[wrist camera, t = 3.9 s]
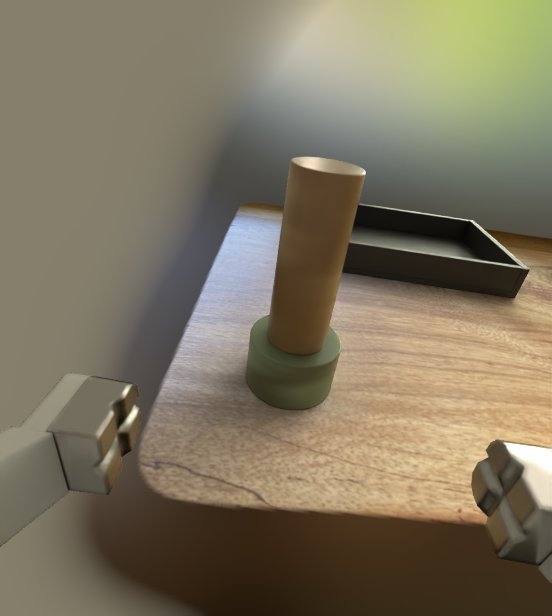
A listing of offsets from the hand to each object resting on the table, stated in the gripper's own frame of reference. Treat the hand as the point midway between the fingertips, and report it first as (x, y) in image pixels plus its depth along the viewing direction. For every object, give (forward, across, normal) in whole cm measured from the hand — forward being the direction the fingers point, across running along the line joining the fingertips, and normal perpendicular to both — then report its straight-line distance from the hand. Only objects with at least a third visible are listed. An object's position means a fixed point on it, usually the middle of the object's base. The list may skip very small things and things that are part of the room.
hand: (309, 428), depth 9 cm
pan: (+34, -12, +8) cm, 37 cm away
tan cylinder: (+11, 0, +8) cm, 13 cm away
